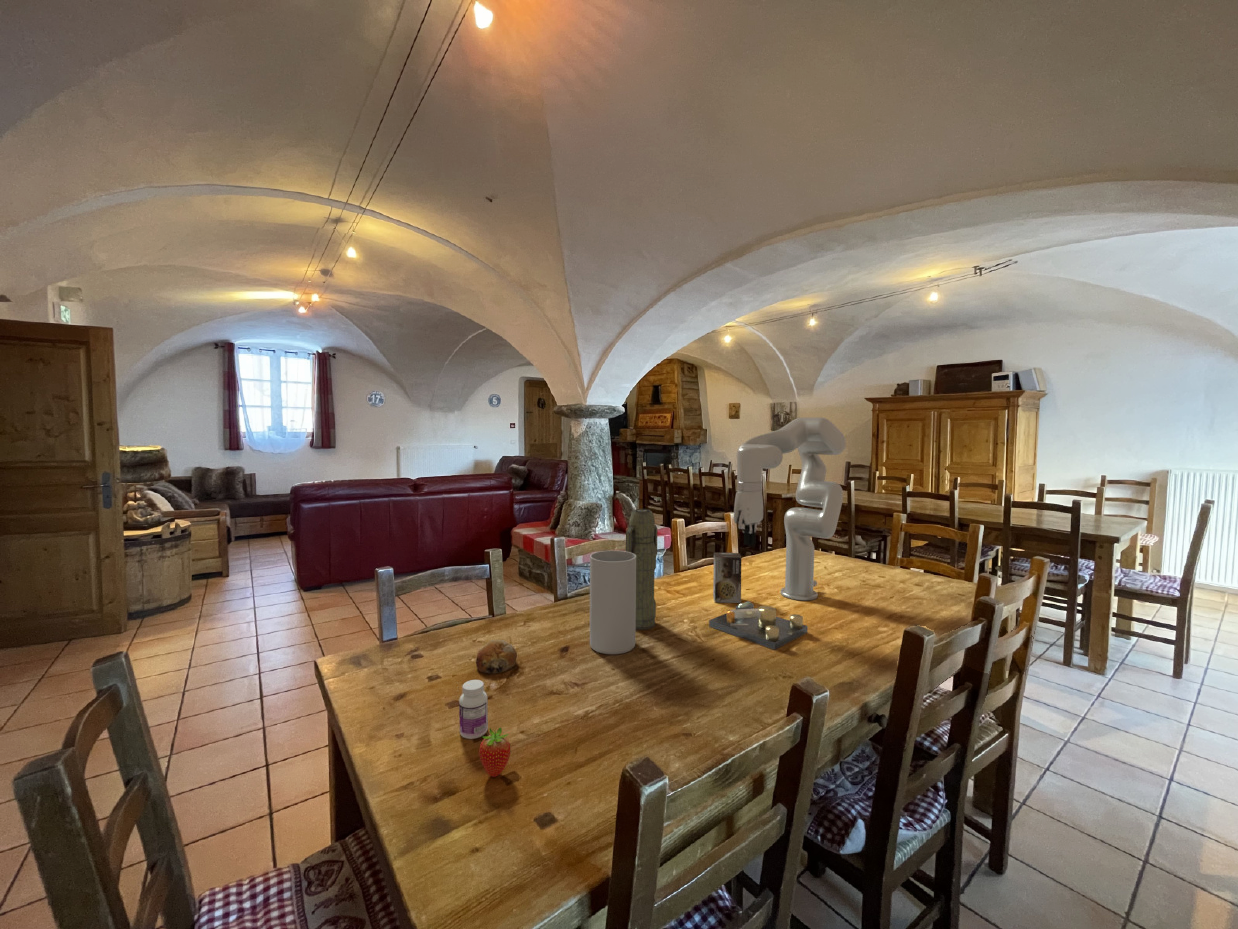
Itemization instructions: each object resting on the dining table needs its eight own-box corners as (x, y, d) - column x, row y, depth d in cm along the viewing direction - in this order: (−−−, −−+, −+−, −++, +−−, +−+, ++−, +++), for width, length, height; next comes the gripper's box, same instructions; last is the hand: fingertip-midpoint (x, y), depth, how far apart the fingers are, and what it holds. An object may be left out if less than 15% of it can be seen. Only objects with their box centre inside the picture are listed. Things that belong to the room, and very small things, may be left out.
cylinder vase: (642, 641, 145) (643, 553, 143) (623, 659, 133) (624, 564, 132) (602, 633, 150) (602, 548, 148) (581, 650, 138) (581, 558, 137)
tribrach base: (743, 612, 168) (743, 597, 167) (807, 632, 152) (807, 616, 151) (709, 626, 156) (709, 610, 155) (774, 650, 140) (774, 632, 139)
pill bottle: (462, 724, 104) (462, 678, 103) (489, 723, 104) (489, 677, 103) (456, 740, 98) (456, 691, 98) (485, 739, 99) (484, 690, 98)
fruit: (473, 780, 87) (472, 734, 87) (491, 761, 92) (490, 718, 92) (500, 788, 85) (499, 741, 85) (517, 769, 90) (516, 725, 90)
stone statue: (664, 622, 159) (665, 509, 156) (640, 633, 150) (641, 514, 148) (641, 615, 165) (643, 506, 162) (617, 625, 156) (618, 510, 153)
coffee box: (738, 597, 183) (739, 552, 182) (741, 603, 176) (742, 557, 175) (712, 596, 184) (713, 551, 182) (714, 602, 177) (715, 556, 176)
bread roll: (520, 676, 131) (527, 643, 134) (500, 676, 122) (508, 641, 125) (486, 670, 134) (493, 638, 137) (465, 670, 125) (473, 635, 128)
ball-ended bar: (771, 622, 154) (771, 605, 154) (778, 628, 149) (779, 611, 149) (723, 624, 152) (724, 607, 152) (729, 630, 147) (730, 613, 147)
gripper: (752, 483, 167) (752, 538, 169) (725, 488, 157) (725, 547, 159) (773, 485, 162) (772, 542, 163) (746, 490, 151) (746, 552, 153)
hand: (749, 544), depth 161 cm, fingers closed
